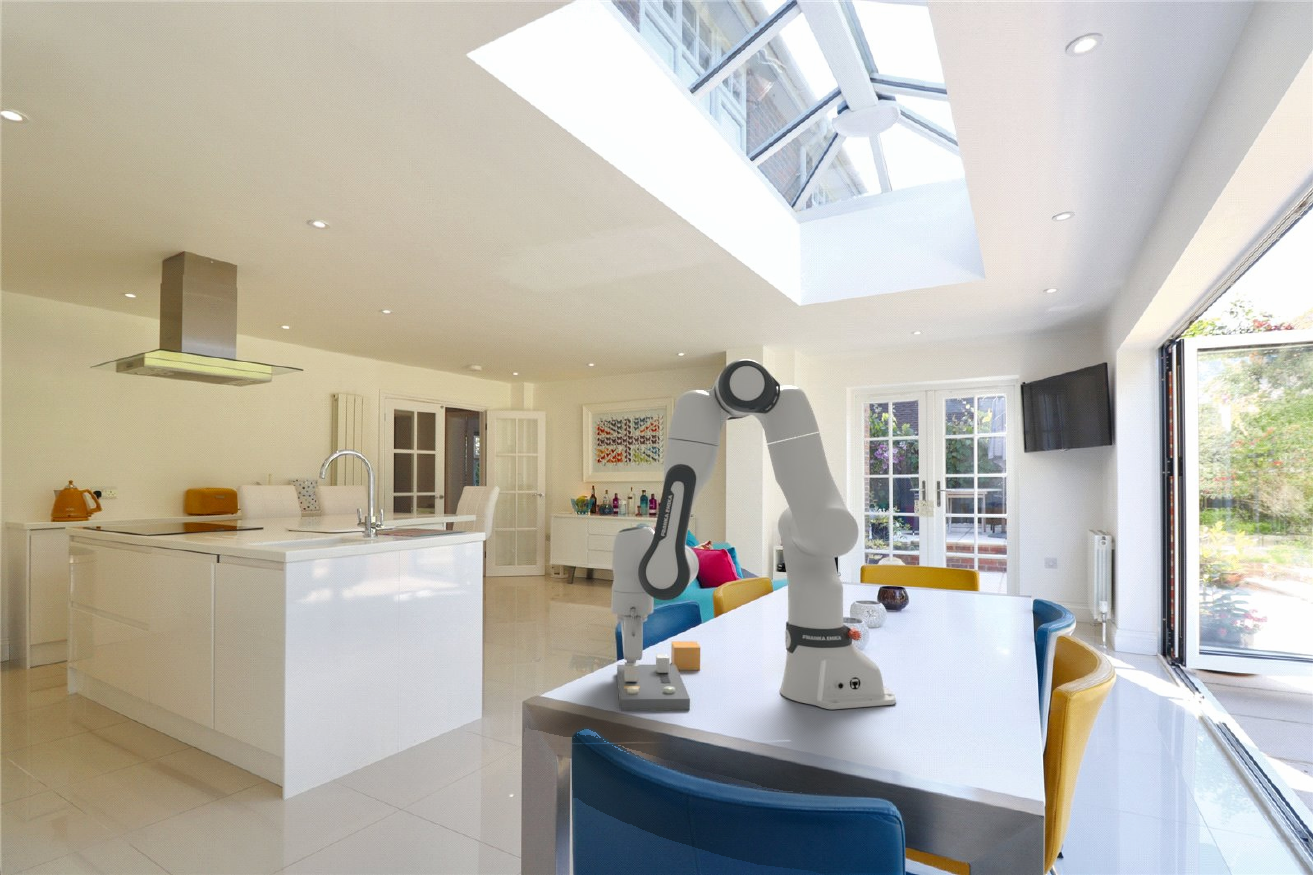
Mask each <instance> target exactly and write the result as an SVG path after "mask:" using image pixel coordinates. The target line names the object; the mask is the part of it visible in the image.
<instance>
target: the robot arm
mask: <svg viewBox="0 0 1313 875" xmlns="http://www.w3.org/2000/svg"><path fill="white" fill-rule="evenodd" d="M813 410H814V409H813V408H812V406H811V403H810V401H809V398H808V397H807V395H806V393H805V391H804V390H803V389H801V388H800V387H798V386H795V385H781V384H780V382H778V381H777V380H776V378H774V377H773V376H772V374H771V373H770V372H769V371H768V370H767V369H766V368H765V367H764V366H763V364H761V363H759V362H757V361H756V360H753V359H747V358H746V359H745V358H744V359H738V360H735V361H733V362H731V363H729V364H728V365H726V366H725V368H724V369H722V371H721V372H720V373H719V375H718V376H717V378H716V380H715V382H714V384H713V385H712V386H711V387H710V389H708V390H707V389H706V390H701V389H694V390H688V391H685V392H684V393H682V394H681V395H680V396H679V397H678V399H677V401H676V404H675V407H674V409H673V412H672V416H671V419H670V423H669V428H668V432H667V433H668V434H667V440H666V445H665V454H664V455H665V456H664V468H663V471H664V472H663V483H662V485H663V486H662V493H661V498H660V503H659V509H658V513H657V517H656V524H655V529H653V528H652V527H651V526H650V525H649V526H648V525H638V526H634V527H633V526H631V527H628V528H623V529H621V530H619V531H618V533H616V535H615V538H614V542H613V549H612V564H611V569H612V573H613V581H612V585H611V598H610V599H611V600H610V601H611V603H610V604H611V605H610V606H611V609H610V610H611V613H612V614H615V615H616V621H618V622H620V631H621V636H622V638H621V639H622V652H623V659H624V660H625V661H626V662H637V661H642V659H643V652H644V651H643V650H644V649H643V646H644V645H643V643H644V642H643V641H644V640H643V639H644V635H643V633H644V632H643V631H644V627H643V626H644V624H643V623H644V622H647V621H648V615H652V614H653V613H654V599H657V600H659V601H669V600H674V599H676V598H678V597H681V595H682V594H683V593H684V592H685V590H686V589H687V587H689V586H690V584H692V582H694V580H695V579H696V578H697V576H698V574H699V571H700V560H699V557H698V555H697V553H696V552H695V551H694V549H693V548H691V547H690V546H689V545H687V538H688V537H687V536H688V532H689V527H690V522H691V521H690V520H691V515H692V510H693V506H694V503H695V501H696V499H697V497H698V494H699V493H700V492H701V490H702V489H703V488H704V487H705V485H706V484H707V483H708V482H709V481H710V480H711V478H712V476H713V473H714V470H715V468H716V464H717V460H718V456H719V450H720V446H721V445H720V444H721V436H722V432H723V428H724V425H725V423H726V422H727V421H731V420H739V419H742V418H747V417H749V416H754V417H755V418H757V420H758V421H759V422H760V425H761V426H762V428H763V432H764V437H765V441H766V444H767V450H768V454H769V458H770V462H771V466H772V470H773V475H774V477H775V481H776V482H777V484H778V486H779V488H780V490H781V491H782V494H783V495H784V498H785V500H786V502H787V505H788V507H787V508H786V509H784V510H783V511H782V513H781V514H780V516H779V517H778V518H779V519H778V522H777V530H778V534H779V536H780V539H781V545H782V553H783V559H784V560H783V561H784V566H785V572H786V579H787V580H786V581H787V621H786V622H785V632H784V635H785V636H784V637H785V638H784V643H785V649H786V656H785V657H786V658H785V666H784V672H783V677H782V681H781V684H780V688H779V693H780V695H782V696H783V697H785V698H787V699H789V700H792V701H795V702H798V703H803V704H807V705H812V706H817V707H820V708H822V709H827V710H841V709H853V708H855V709H856V708H863V707H864V708H866V707H878V706H879V707H880V706H889V705H895V704H896V702H897V701H896V696H895V693H894V692H893V691H891V690H890V689H889V688H887V687H886V686H884V681H883V676H882V673H881V669H880V668H879V666H878V665H877V663H876V662H874V661H873V660H872V659H871V658H870V657H869V656H867V655H866V654H865V653H864V652H863V651H862V650H861V649H859V648H857V646H855V645H854V644H853V641H856V642H857V641H860V640H861V639H862V633H861V632H860V631H859V630H857V629H855V628H850V627H848V626H847V625H845V624H844V587H843V583H842V580H841V578H840V576H839V573H838V569H837V565H836V560H835V558H839V557H841V556H842V557H843V556H844V555H846V554H848V553H849V552H851V551H852V550H853V549H854V547H855V546H856V544H857V542H858V539H859V525H858V522H857V521H856V519H855V517H854V515H853V514H852V513H851V512H850V510H849V509H848V507H847V506H846V504H845V502H844V499H843V497H842V495H841V492H840V490H839V488H838V486H837V485H836V482H835V480H834V477H833V475H832V473H831V471H830V468H829V465H828V464H829V463H828V461H827V457H826V452H825V449H824V445H823V442H822V441H823V440H822V437H821V432H820V430H819V428H820V427H819V425H818V422H817V418H816V416H815V414H814V411H813Z"/></svg>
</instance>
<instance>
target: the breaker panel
mask: <svg viewBox="0 0 1313 875" xmlns="http://www.w3.org/2000/svg"><path fill="white" fill-rule="evenodd" d="M616 667H617V669H616V670H617V671H616V676H617V691H618V702H619V711H690V710H691V709H690V708H691V698H690V695H689V694H688V691H687V689H686V686H685V684H684V681H683V679H682V677H681V674H680V672H679V671H680V670H678V669H677V667H676V664H669V673H657V671H656V664H638V681H625V678H624V671H625V664H616Z"/></svg>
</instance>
